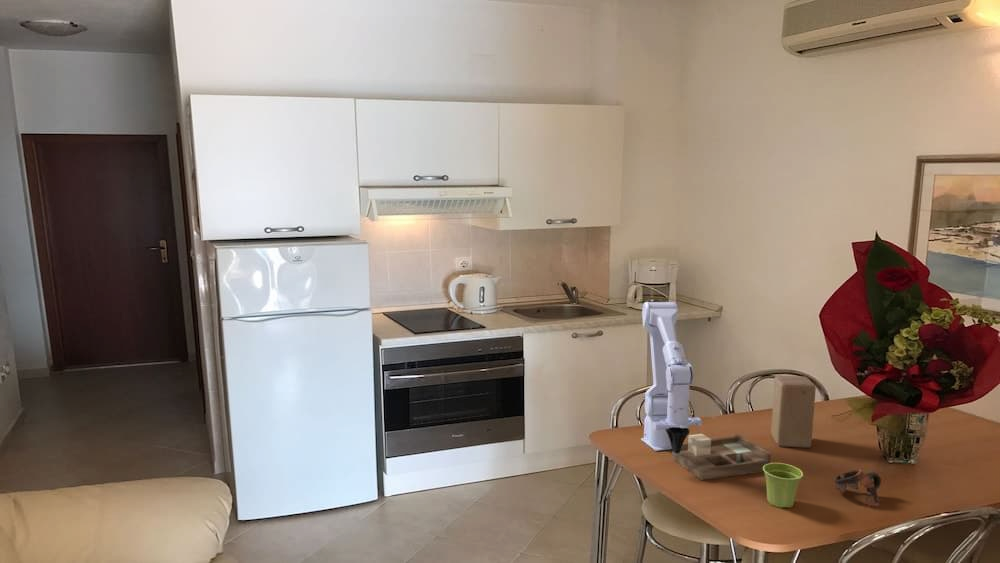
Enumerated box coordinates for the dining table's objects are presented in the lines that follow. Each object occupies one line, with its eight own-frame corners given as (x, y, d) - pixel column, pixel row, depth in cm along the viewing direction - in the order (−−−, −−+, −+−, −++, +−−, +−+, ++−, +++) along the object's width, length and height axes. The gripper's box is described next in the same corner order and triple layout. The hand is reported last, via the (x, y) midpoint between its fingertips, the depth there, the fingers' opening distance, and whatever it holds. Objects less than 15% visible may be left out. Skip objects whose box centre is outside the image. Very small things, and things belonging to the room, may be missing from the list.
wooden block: (812, 449, 209) (816, 385, 206) (777, 447, 211) (781, 383, 208) (803, 436, 219) (807, 375, 216) (769, 435, 220) (773, 374, 217)
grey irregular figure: (864, 512, 171) (848, 480, 173) (837, 512, 180) (822, 482, 181) (898, 492, 175) (881, 461, 177) (870, 493, 184) (854, 463, 186)
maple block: (687, 450, 200) (688, 435, 200) (701, 448, 202) (702, 433, 201) (696, 456, 196) (697, 441, 196) (710, 454, 198) (711, 439, 197)
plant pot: (806, 502, 175) (808, 469, 174) (792, 515, 168) (795, 482, 167) (769, 491, 182) (771, 459, 180) (755, 503, 175) (757, 471, 173)
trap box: (672, 458, 202) (672, 442, 201) (737, 450, 208) (738, 434, 207) (701, 480, 188) (702, 462, 187) (769, 470, 194) (771, 453, 193)
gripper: (662, 413, 189) (660, 460, 191) (708, 408, 193) (706, 454, 195) (649, 404, 195) (647, 450, 198) (694, 400, 200) (692, 445, 202)
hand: (675, 451), depth 197 cm, fingers closed
